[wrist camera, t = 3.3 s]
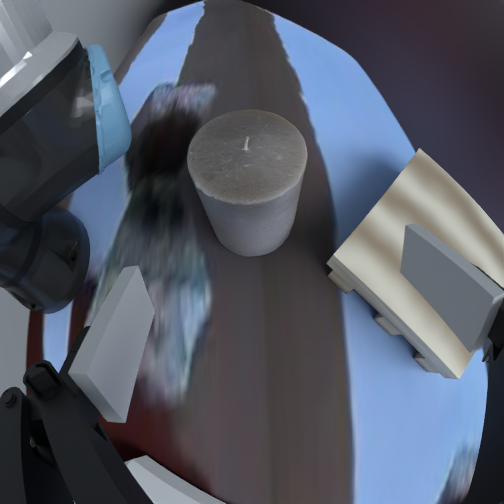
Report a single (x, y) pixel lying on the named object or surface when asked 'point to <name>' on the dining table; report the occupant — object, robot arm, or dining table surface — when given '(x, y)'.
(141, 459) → the white octagonal bar
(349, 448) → the dining table surface
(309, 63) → the dining table surface
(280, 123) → the pillar candle
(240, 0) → the dining table surface
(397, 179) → the plate
